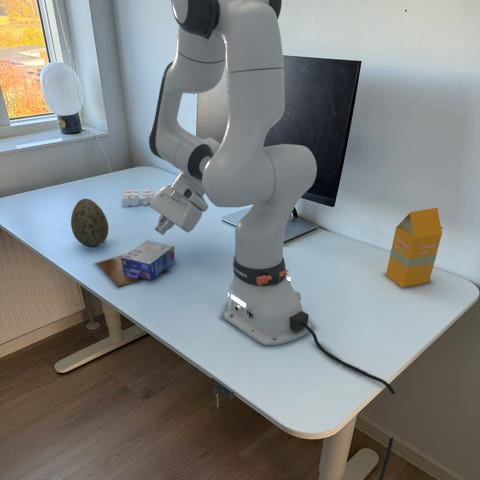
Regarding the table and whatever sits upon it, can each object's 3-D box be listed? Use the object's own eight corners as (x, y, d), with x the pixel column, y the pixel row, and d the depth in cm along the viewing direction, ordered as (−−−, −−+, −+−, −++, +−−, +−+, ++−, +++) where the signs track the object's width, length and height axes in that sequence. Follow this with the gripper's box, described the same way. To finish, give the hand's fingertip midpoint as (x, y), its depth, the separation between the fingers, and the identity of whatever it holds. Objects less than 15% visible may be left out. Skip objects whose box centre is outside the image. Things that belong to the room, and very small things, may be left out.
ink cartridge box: (148, 256, 138) (117, 277, 128) (146, 239, 135) (114, 259, 125) (176, 262, 135) (146, 285, 124) (174, 245, 132) (144, 266, 121)
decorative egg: (94, 235, 151) (85, 190, 142) (118, 242, 146) (111, 197, 138) (68, 248, 143) (57, 201, 135) (93, 256, 139) (84, 208, 130)
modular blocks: (124, 206, 171) (122, 196, 169) (124, 200, 177) (123, 190, 175) (177, 203, 175) (176, 192, 172) (176, 196, 180) (175, 186, 178)
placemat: (143, 250, 142) (143, 249, 142) (167, 271, 131) (167, 270, 131) (96, 264, 135) (96, 262, 135) (118, 287, 124) (118, 286, 124)
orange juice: (385, 274, 130) (399, 206, 118) (411, 269, 132) (427, 202, 121) (402, 288, 124) (419, 218, 112) (429, 282, 126) (448, 213, 115)
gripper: (161, 176, 136) (135, 215, 137) (196, 197, 122) (167, 239, 123) (176, 188, 141) (150, 225, 142) (211, 209, 127) (183, 250, 128)
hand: (158, 232), depth 132 cm, fingers closed
